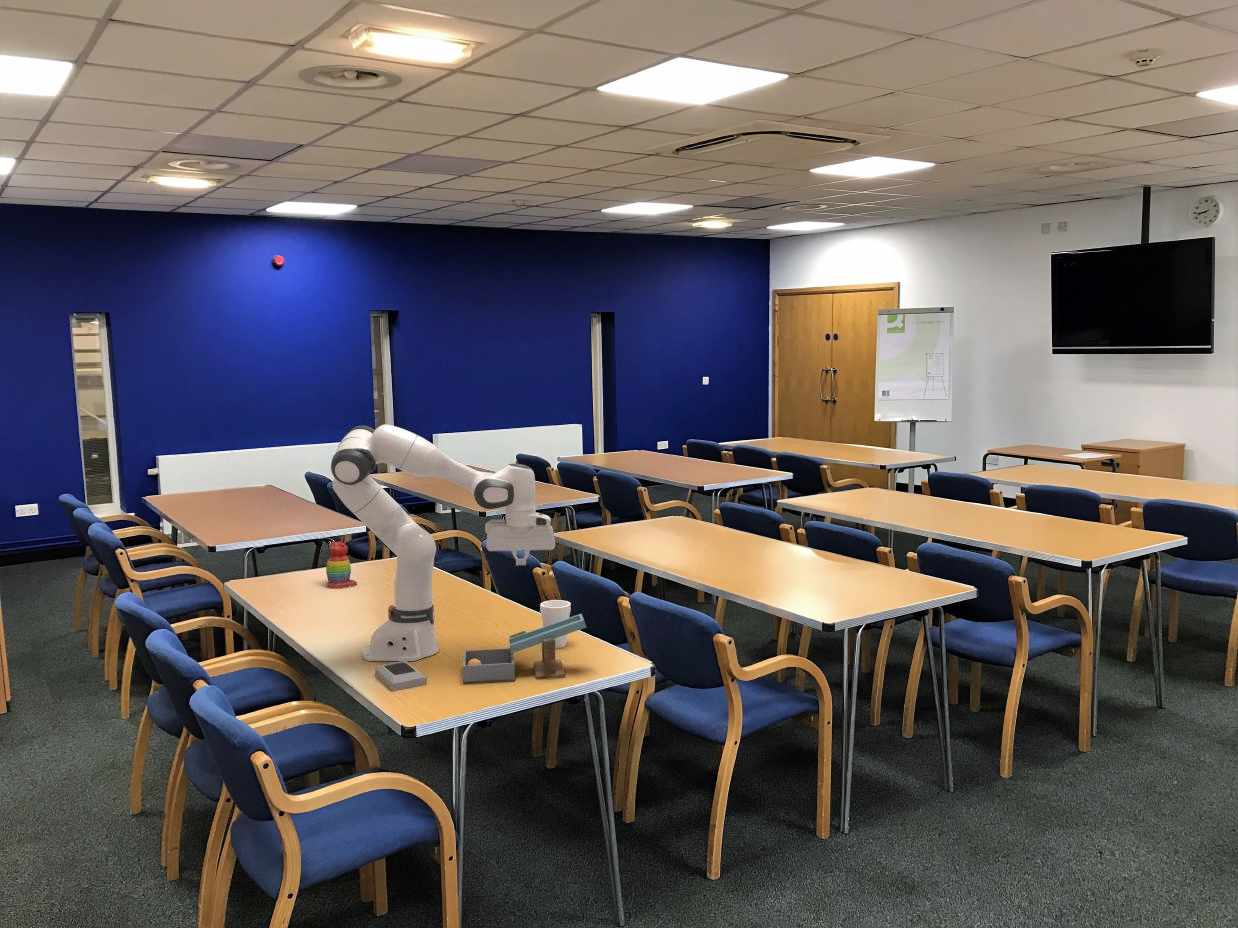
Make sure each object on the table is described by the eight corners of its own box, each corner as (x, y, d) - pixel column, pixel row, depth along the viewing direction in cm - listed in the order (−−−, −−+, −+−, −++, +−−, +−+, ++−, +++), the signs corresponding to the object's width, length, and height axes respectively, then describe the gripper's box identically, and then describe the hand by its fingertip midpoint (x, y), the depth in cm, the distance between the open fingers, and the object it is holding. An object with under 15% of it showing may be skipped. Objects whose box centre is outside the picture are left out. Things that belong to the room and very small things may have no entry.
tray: (463, 683, 255) (462, 666, 255) (464, 667, 269) (463, 650, 268) (514, 680, 257) (514, 663, 257) (512, 664, 271) (512, 647, 270)
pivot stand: (536, 679, 258) (535, 639, 257) (533, 663, 271) (532, 626, 270) (564, 677, 260) (564, 638, 258) (560, 662, 272) (560, 625, 271)
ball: (481, 674, 261) (467, 675, 260) (481, 669, 265) (467, 670, 264) (481, 660, 260) (467, 661, 260) (481, 656, 264) (467, 656, 264)
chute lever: (511, 653, 260) (509, 646, 259) (510, 639, 273) (507, 632, 272) (586, 627, 262) (584, 620, 262) (581, 614, 275) (579, 607, 275)
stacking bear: (359, 584, 368) (357, 540, 366) (339, 590, 360) (337, 545, 358) (340, 581, 374) (338, 538, 372) (320, 586, 365) (318, 542, 363)
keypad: (392, 679, 249) (374, 664, 262) (392, 692, 250) (375, 676, 262) (426, 672, 254) (407, 658, 267) (426, 685, 255) (407, 670, 267)
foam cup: (542, 650, 284) (541, 608, 283) (539, 641, 293) (538, 600, 292) (573, 648, 286) (572, 606, 285) (569, 639, 295) (568, 599, 294)
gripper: (484, 521, 269) (485, 568, 270) (555, 519, 271) (555, 566, 273) (485, 517, 275) (485, 563, 276) (554, 516, 277) (554, 561, 279)
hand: (521, 564), depth 275 cm, fingers closed
